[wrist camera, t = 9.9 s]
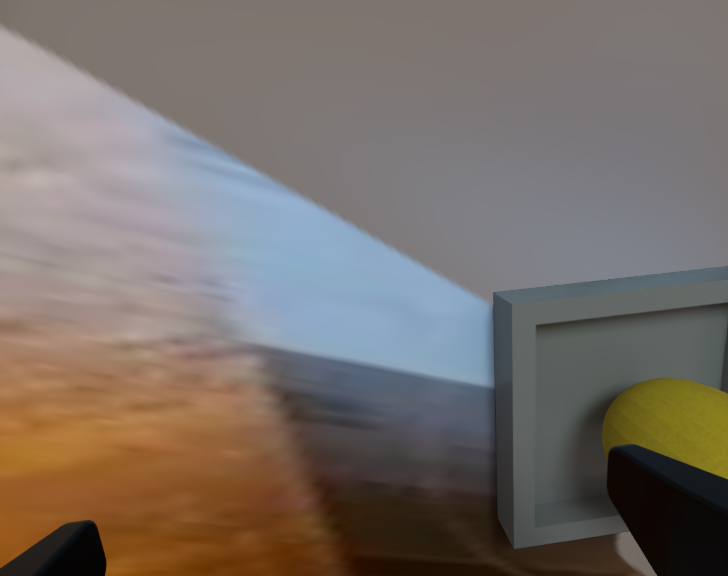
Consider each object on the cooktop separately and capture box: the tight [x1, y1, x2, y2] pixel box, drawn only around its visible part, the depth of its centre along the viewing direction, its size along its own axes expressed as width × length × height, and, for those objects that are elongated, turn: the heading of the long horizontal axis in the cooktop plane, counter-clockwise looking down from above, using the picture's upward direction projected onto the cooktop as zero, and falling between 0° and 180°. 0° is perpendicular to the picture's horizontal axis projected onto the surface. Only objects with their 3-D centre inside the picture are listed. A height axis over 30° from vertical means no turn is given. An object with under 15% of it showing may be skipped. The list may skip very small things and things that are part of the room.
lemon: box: [602, 378, 728, 479], centre depth 17 cm, size 6×6×8 cm
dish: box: [493, 266, 728, 549], centre depth 21 cm, size 12×12×2 cm
